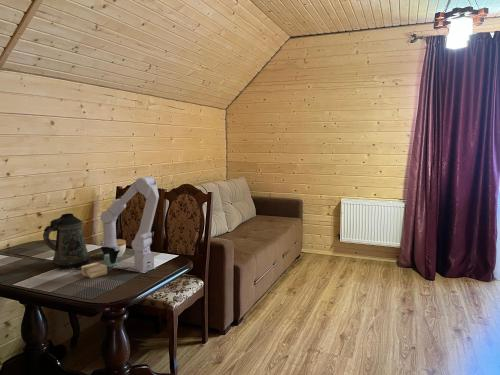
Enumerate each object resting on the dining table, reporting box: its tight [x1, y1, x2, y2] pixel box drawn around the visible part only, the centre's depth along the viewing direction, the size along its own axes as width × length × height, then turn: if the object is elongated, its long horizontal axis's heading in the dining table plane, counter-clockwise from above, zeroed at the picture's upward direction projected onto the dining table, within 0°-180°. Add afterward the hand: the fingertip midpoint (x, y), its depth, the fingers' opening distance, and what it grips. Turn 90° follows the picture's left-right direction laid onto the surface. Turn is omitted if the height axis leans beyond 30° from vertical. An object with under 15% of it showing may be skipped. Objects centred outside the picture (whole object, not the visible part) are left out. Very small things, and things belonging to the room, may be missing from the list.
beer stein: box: [42, 212, 90, 270], centre depth 190 cm, size 16×19×25 cm
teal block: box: [103, 254, 118, 268], centre depth 192 cm, size 4×4×5 cm
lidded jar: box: [116, 238, 127, 259], centre depth 207 cm, size 11×11×9 cm
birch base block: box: [80, 261, 108, 279], centre depth 181 cm, size 8×8×4 cm
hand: (110, 262), depth 193 cm, fingers closed on teal block, 4 cm apart
